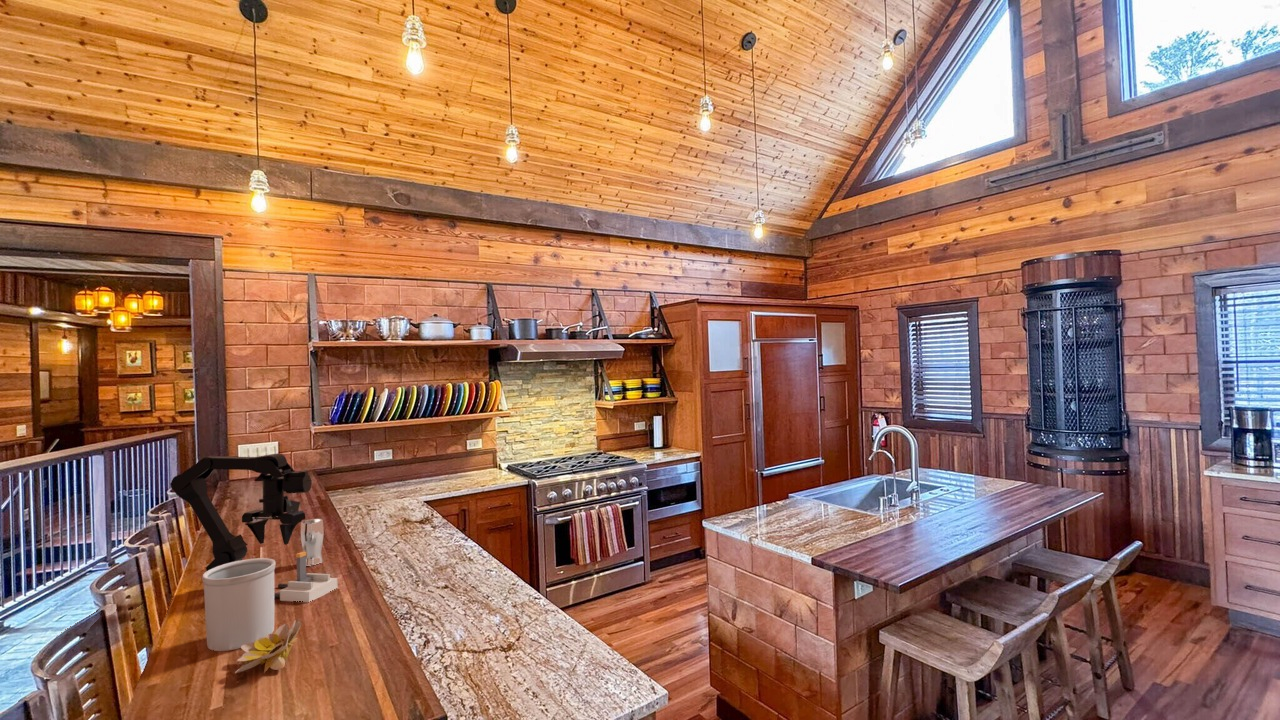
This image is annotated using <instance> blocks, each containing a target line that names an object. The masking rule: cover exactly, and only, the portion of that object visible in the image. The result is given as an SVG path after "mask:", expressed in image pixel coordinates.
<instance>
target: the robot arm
mask: <svg viewBox="0 0 1280 720" xmlns="http://www.w3.org/2000/svg"><path fill="white" fill-rule="evenodd" d="M215 470H223V471H226V470H231V471H232V470H233V471H234V470H235V471H236V470H237V471H239V470H241V471H252V472H255V473H259V475H258V476H257V477H256V478H255V479H254V481H255V482H262V483H261V484H262V498H260V499H259V500H258V502H259V504H262V509H253V510H250V511H247V512H244V513H243V515H242V516H241V523H245V524H244V525H245V526H246V527H248V528H249V530H250V531H251V533H252V534H253V535H254V537H255V538H256V541H258V543H259V544H260V545H261V544H264V542H265V532H266V529H265V527H266V524H267V523H268V521H269V520H279V522H280V524H279V529H280V533H281V538H282V542H283V544H284V545H285V546H287V545H289V544H290V540H291V537H292V535H293V532H294V530H295V528H296V526H297V525H298V524H300V523H301V522H302V521H305V520H306V512H305V511H304V510H299V509H300V505H301V501H296V500H291V499H290V500H289V496H288V495H285V493H286V494H302V493H306V494H307V493H309V492H310V490H311V488H312V483H313V482H312V478H311V476H310V475H309V471H308V470H302V471H295V469H294V468H293V467H292V466H291V465H290V464H289V463H288V460H287V457H286V456H285V455H284V454H282V453H279V452H278V453H272V454H266V455H265V454H264V455H258V456H218V455H209V456H204V457H203V458H201V459H200V460H199V461H198V462H196V463H195V464H193V465H192V466H191V467H189V468H187V469H186V470H185V471H183V472H182V473H180V474H177V475H175V476H174V477H173V478H172V480H171V482H170V485H169V486H170V488H171V490H172V491H173V493H175V495H177V497H179V498H180V499H182V500H183V501H185V502H187V503H188V505H190V507H191V509H192V510H193V513H194V514H195V516H196V518H197V519H198V520H199V522H200V524H201V526H202V527H203V529H204V530H205V533H206V534H207V535H208V537H209V539H210V540H211V543H212V547H211V548H212V549H211V550H212V551H211V553H212V556H213V560H212V561H211V562H210V563H209V564H208V565H207V566H206V567H205V570H206V572H207V571H208V570H210V569H212V568H215V567H217V566H220V565H223V564H227V563H231V562H235V561H240V560H244V558H245V557H246V556H247V553H248V547H247V546H248V543H246V542H245V540H244V538H243V535H242V534H238V535H234V534H232V533H231V532H230V531H229V529H228V527H227V525H226V524H225V521H224V520H223V519H222V517H221V515H220V514H219V512H218V511H217V508H216V506H214V504H213V502H212V500H211V499H210V497H209V495H208V483H207V479H209V477H210V476H211V475H212V474H213V472H214V471H215Z"/></svg>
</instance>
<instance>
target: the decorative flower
mask: <svg viewBox="0 0 1280 720" xmlns="http://www.w3.org/2000/svg"><path fill="white" fill-rule="evenodd" d="M301 621H302V618H301V617H300V618H299V619H298V620H296V619H295V620H294V621H293V623H292V624H291V627H289V624H288V623H287V622H286V623H284V624H282V625H280V626H279V627H278V628H277V629H276V630H275V632H274V633H272V634H268V635H267V636H265V637H262V638H260V639H258V640H257V641H256V642H252V643H248V644H244V645H242V646H241V648H240V649H241V650H243V652H244V653H243V654H242V655H241V657H239V658H237V660H236V662H243V664H242V665H241V666H240V667H239V668H238V669H237V670H235V672H234V674H237V673H241V672H244V671H247V670H250V669H252V668H254V667H257V666H258V665H263V664H264V668H263V674H266V672H267V671H268V669H269V668H270V669H272V670H277V671H278V670H281V669H283V668H284V667H285V666H286V665H285V664H286V659H287V657H288V656H289V654H290V648H292V647H293V646H294V644H292V643H296V642H297V641H298V637H296V636H297V634H298V633H299V631H300V628H301V625H302V622H301Z"/></svg>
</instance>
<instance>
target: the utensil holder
mask: <svg viewBox="0 0 1280 720" xmlns="http://www.w3.org/2000/svg"><path fill="white" fill-rule="evenodd" d="M276 563H277V562H276V560H275V559H274V558H273V559H272V558H268V557H265V558H264V557H257V558H248V559H247V558H246V559H242V560H240V561H235V562H231V563H227V564H223V565H220V566H217V567H215V568H212V569H210V570H208V571H207V570H206V571H205V572H204V573H203V574H202V576H201V578H202V582H203V594H204V612H205V613H204V614H205V616H204V617H205V618H204V620H205V621H204V622H205V631H206V632H205V633H206V634H205V636H206V645H207V649H209V650H211V651H213V650H214V651H215V652H226V651H234V650H239V649H242V648H241V646H242V645H244V644H248V643H252V642H256V641H257V640H258V639H260V638H262V637H265V636H267V635H268V634H274V631H275V613H276V612H275V610H276V609H275V597H274V593H275V569H276V566H277V565H276ZM214 651H213V652H214Z"/></svg>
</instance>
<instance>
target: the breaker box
mask: <svg viewBox="0 0 1280 720" xmlns="http://www.w3.org/2000/svg"><path fill="white" fill-rule="evenodd" d="M306 577H312V580H311V581H309V582H300V581H296V580H289V581H287V583H282V582H281V583H278V584H277V588H280V590H279V592H274V598H278V599H279V601H282V602H293V601H296V602H297V601H298V602H297V603H308V602H309V603H311V602H313V601H315V600H317V599H319V598H321V597H323V596H325V595H326V594H329V593H331V592H333V591H335V590H336V588H337V589H338V577H331V574H330V573H329V574H328V573H312V572H306ZM281 588H282V589H281ZM334 589H335V590H334ZM332 590H333V591H332ZM330 591H331V592H330ZM312 600H313V601H312ZM299 601H301V602H299ZM302 601H303V602H302ZM310 601H311V602H310ZM296 602H295V603H296Z"/></svg>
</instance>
